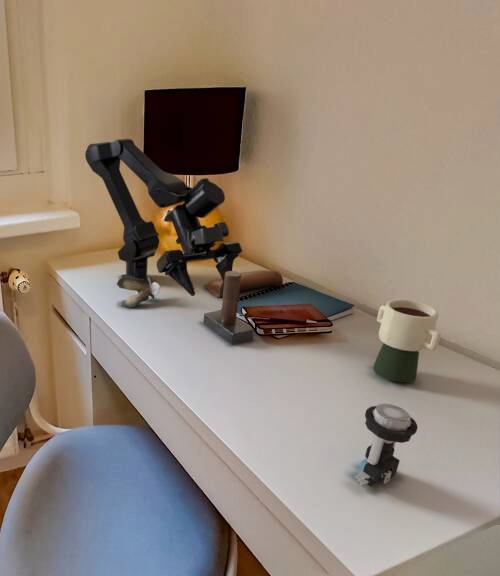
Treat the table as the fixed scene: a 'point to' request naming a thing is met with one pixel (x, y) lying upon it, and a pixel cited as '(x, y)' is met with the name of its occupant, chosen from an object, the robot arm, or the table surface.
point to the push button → (384, 442)
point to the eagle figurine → (139, 286)
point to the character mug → (404, 338)
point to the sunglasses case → (248, 281)
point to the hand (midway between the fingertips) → (212, 292)
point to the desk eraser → (229, 314)
